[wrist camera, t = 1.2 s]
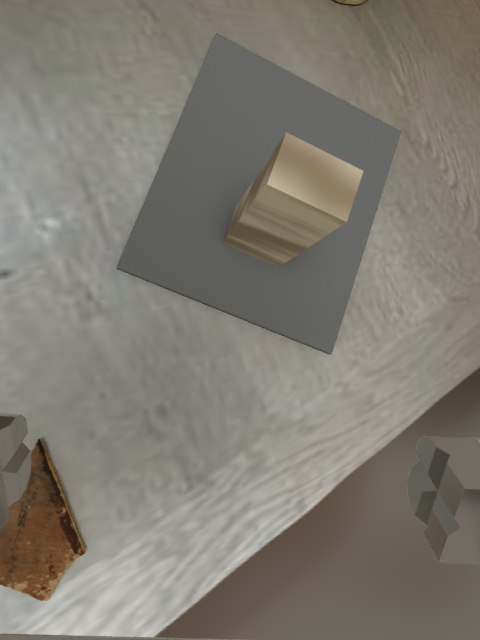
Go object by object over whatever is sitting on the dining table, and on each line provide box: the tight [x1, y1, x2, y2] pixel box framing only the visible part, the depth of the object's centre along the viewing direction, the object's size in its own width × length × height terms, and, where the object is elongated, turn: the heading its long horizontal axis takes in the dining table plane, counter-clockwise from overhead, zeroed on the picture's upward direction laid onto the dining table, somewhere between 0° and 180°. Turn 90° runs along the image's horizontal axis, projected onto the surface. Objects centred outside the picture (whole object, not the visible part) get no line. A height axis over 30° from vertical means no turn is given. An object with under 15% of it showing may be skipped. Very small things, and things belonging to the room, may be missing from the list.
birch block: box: [222, 132, 363, 267], centre depth 37 cm, size 4×6×14 cm, turn 70°
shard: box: [0, 439, 86, 601], centre depth 36 cm, size 11×8×2 cm
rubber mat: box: [117, 33, 401, 354], centre depth 44 cm, size 26×22×1 cm
